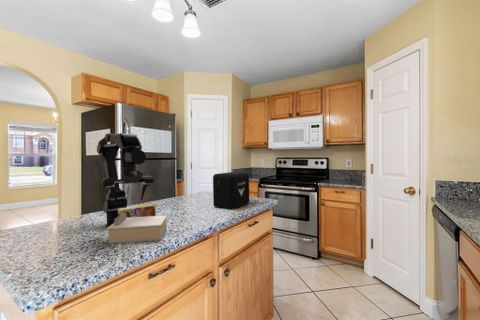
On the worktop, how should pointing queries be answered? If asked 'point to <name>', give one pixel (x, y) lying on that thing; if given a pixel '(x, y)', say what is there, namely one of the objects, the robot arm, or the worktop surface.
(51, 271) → the worktop surface
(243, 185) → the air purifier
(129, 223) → the lid
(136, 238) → the box
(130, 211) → the candy box
